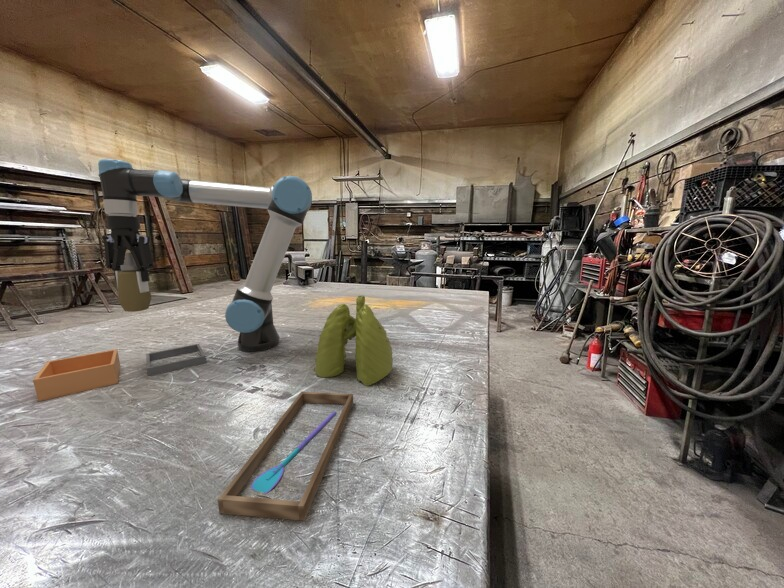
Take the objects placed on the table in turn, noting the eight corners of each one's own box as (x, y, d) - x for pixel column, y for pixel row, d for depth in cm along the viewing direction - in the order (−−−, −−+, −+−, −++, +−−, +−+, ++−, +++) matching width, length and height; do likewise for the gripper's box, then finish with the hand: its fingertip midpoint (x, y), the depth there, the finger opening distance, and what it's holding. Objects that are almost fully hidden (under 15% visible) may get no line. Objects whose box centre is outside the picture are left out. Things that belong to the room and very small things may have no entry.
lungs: (400, 367, 98) (399, 294, 93) (380, 389, 84) (379, 305, 79) (334, 356, 107) (330, 290, 103) (306, 375, 93) (301, 298, 88)
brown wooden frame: (353, 403, 77) (353, 394, 77) (304, 520, 45) (303, 506, 45) (302, 400, 78) (301, 391, 78) (219, 513, 47) (217, 499, 46)
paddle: (266, 499, 49) (265, 493, 49) (246, 492, 51) (245, 486, 50) (339, 415, 73) (339, 410, 72) (324, 412, 74) (324, 407, 74)
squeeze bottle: (159, 307, 99) (152, 252, 96) (136, 313, 91) (127, 253, 88) (137, 306, 100) (129, 251, 97) (112, 312, 92) (102, 253, 89)
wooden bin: (120, 366, 101) (117, 349, 100) (117, 383, 89) (113, 364, 88) (51, 380, 91) (47, 361, 90) (38, 401, 79) (32, 380, 78)
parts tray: (199, 349, 115) (198, 343, 114) (206, 362, 103) (205, 355, 102) (147, 360, 105) (146, 353, 105) (148, 376, 93) (146, 368, 93)
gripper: (163, 216, 93) (172, 290, 97) (106, 216, 95) (118, 288, 99) (140, 214, 86) (151, 294, 90) (80, 214, 88) (93, 292, 92)
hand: (133, 291), depth 94 cm, fingers closed on squeeze bottle, 6 cm apart
